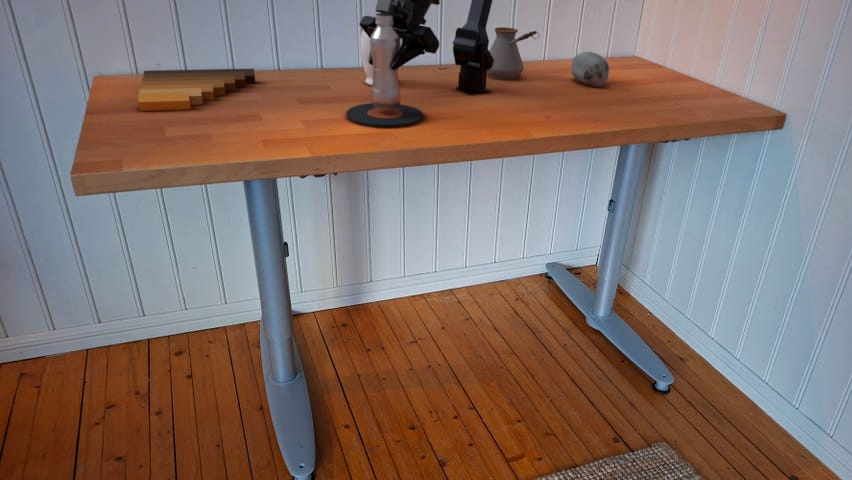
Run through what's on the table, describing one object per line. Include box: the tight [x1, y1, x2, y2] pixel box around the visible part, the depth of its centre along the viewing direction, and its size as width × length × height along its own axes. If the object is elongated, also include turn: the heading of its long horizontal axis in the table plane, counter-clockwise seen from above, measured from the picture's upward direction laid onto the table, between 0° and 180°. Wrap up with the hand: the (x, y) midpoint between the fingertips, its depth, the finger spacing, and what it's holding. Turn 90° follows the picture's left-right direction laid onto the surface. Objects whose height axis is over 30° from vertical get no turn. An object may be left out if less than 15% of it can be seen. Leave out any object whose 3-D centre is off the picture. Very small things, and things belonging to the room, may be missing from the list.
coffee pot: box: [487, 26, 541, 80], centre depth 186 cm, size 21×12×15 cm, turn 28°
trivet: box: [346, 102, 424, 129], centre depth 152 cm, size 17×17×1 cm
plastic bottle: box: [370, 12, 402, 110], centre depth 147 cm, size 6×7×20 cm
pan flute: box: [137, 68, 256, 112], centre depth 158 cm, size 25×3×25 cm
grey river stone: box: [570, 51, 610, 88], centre depth 191 cm, size 14×10×10 cm
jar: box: [359, 25, 402, 86], centre depth 175 cm, size 11×10×15 cm
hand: (381, 66), depth 146 cm, fingers closed on plastic bottle, 6 cm apart
